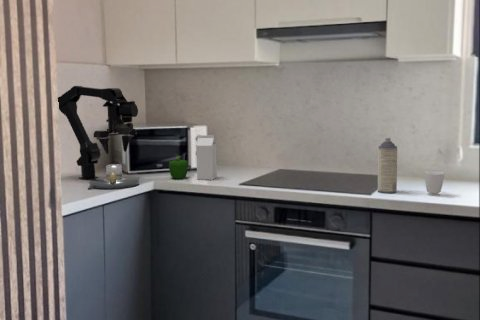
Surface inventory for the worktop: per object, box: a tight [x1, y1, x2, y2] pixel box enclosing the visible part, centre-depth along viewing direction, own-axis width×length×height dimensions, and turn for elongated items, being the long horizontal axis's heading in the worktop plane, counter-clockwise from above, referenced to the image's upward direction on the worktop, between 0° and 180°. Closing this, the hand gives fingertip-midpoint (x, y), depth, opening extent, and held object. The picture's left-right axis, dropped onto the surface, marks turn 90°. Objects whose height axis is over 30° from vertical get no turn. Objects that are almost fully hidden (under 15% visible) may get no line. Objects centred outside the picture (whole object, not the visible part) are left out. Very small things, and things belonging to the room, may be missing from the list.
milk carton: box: [195, 134, 218, 181], centre depth 242 cm, size 7×7×19 cm
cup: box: [423, 170, 445, 197], centre depth 199 cm, size 7×10×8 cm
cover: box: [105, 163, 123, 181], centre depth 230 cm, size 6×6×6 cm
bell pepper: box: [168, 156, 189, 180], centre depth 245 cm, size 8×8×10 cm
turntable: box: [89, 173, 140, 190], centre depth 230 cm, size 20×20×6 cm
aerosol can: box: [377, 137, 398, 195], centre depth 204 cm, size 7×7×20 cm
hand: (116, 152), depth 243 cm, fingers open, 9 cm apart
